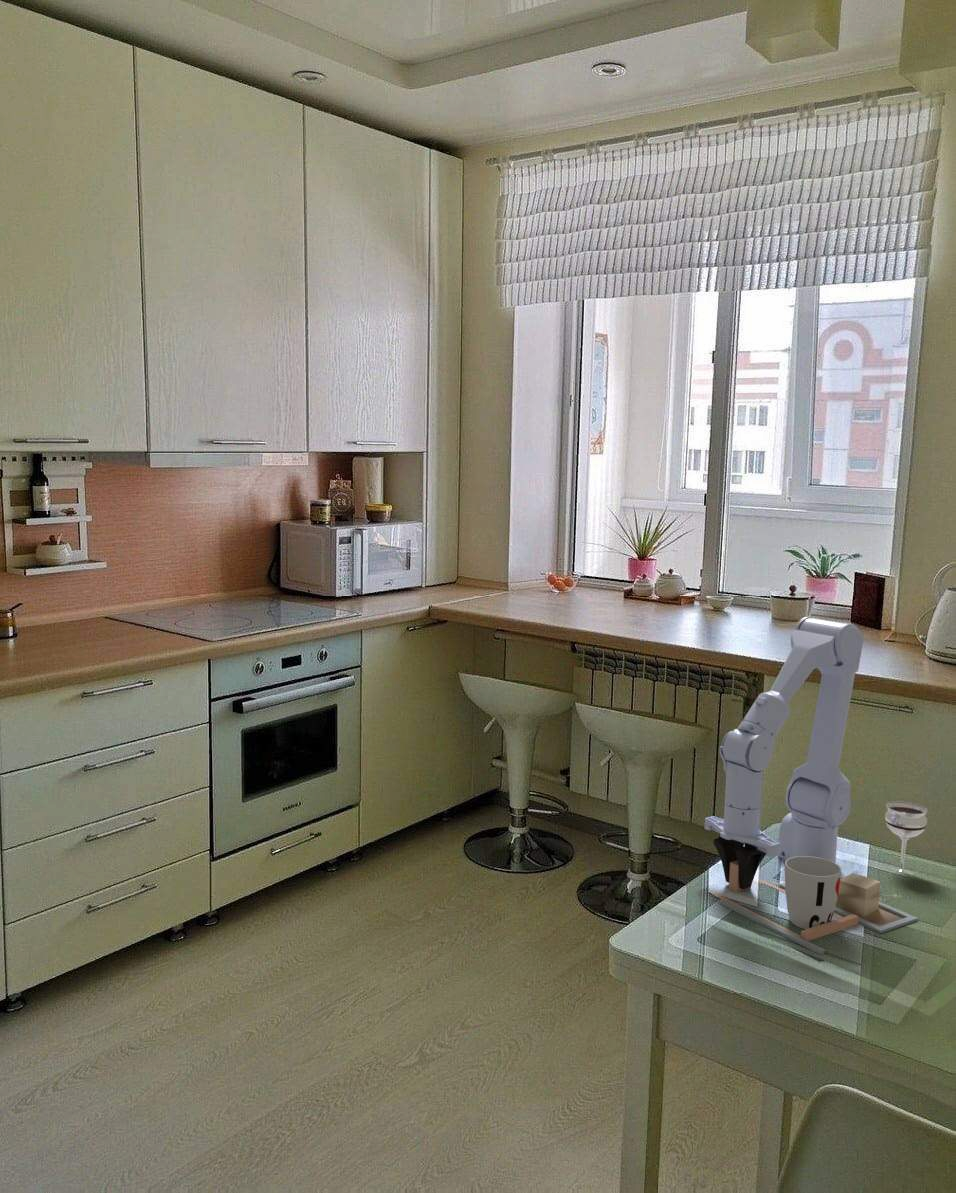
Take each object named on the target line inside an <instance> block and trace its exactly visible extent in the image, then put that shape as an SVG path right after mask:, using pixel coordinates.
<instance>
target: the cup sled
mask: <svg viewBox="0 0 956 1193" xmlns="http://www.w3.org/2000/svg"><path fill="white" fill-rule="evenodd" d="M759 882H760V883H761V884H763V885H766V886H768V887H770V888H773V889H775V890H777V891H779V892H781V893H783V894H785V895H786V892H785V889H783V888H781V887H779V886H776V885H773V883H770V882H767V881H766V880H763V879H761V880H759ZM751 888H752V886H751V887H750V888H746V889H740V887H739V867H738V860H737V861H733V862H730V875H729V883H728V889H729V890H732V891H733V892H736V893H741V892H743V891H747V890H750V889H751ZM711 895H713V896H714V897H716V898H719V899H720V900H727V901H729V902H731V903H733V904H735V905H737V906H739V907H741V908H743V909H745V910H747V911H749V912H751V913H753V914H755V915H757V916H759V917H761V918H763V919H765V920H767V921H769V922H771V923H773V924H775V925H777V926H778V927H780V928H782V929H784V930H786V931H788V932H790V933H792V934H794V935H796V936H798V937H800V938H802V939H804V940H806V941H808V942H810V941H812V940H816V939H819V938H822V937H824V936H828V935H831V934H833V933H837V932H840V931H842V930H843V931H844V930H846V929H849V928H852V927H855V926H858V925H859V923H858V918H859V917H858V916H856V915H854V914H852V915H849V916H846V917H844V916H842V915H839V914H837V913H835V912H834V914H833V917H835V918H836V919H832V920H831V921H830V922H827V923H824V924H821V925H818V926H815V927H812V928H809V929H803V930H800V934H798V933H796V932H795V931H792V930H790V929H788V928H786V927H784V926H782V925H780V924H778V923H776V922H774V921H772V920H771V919H768V918H766V917H764V916H762V915H760V914H758V913H756V912H754V911H752V910H750V909H748V908H746V907H744V906H742V905H740V904H738V903H737V902H734V901H732V900H731V899H728V898H726V897H724V896H722V895H720V894H719V893H716V892H714V893H712V894H711Z"/></svg>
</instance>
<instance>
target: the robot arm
mask: <svg viewBox="0 0 956 1193" xmlns="http://www.w3.org/2000/svg"><path fill="white" fill-rule="evenodd" d="M864 639H865V638H864V636H863V635H862V633H861V631H860V630H859V628H858V627H857V625H855V624H853V623H851V622H849V623H843V622H839V621H838V622H837V621H832V620H826V619H819V618H814V617H811V616H805V617H802V618H801V619H800V620H799V621H798V622H797V624H796V626H795V627H794V631H793V632H792V633H791V634H790V647H791V649H790V652H789V654H788V656H787V658H786V660H785V661H784V664H783V666H782V667H781V669H780V671H779V672H778V675H777V677H776V678H775V681H774V683H773V684H772V686H771V688H770V691H766V692H761V693H760V694H758V696H757V697H756V699H755V701H754V702H753V704H752V705H751V707H750V708H749V710H748V711H747V713H746V714H745V716H744V718H743V720H741V722H740V724H739V726H738V727H737V728H735V729H733V730H731V731H729V732H727V733H726V734H725V735H724V737H723V739H722V741H721V745H720V746H719V749H718V750H719V756H720V758H721V760H722V762H723V771H724V773H725V793H724V810H723V811H724V812H723V813H724V814H723V818H720V817H717V816H714V815H712V816H709V817H707V816H706V817H705V818H704V829H705V830H707V831H713V832H716V833H718V834H719V836H718V838H714V839H713V845H714V847H715V848H716V851H717V853H718V855H719V857H720V861H721V865H722V869H723V873H724V874H723V875H724V880H725V882H727V883H728V884H729V875H730V862H733V861H737V860H738V867H739V887H740V889H746V888H750V887H751V888H752V886H753V881H754V879H755V876H756V874H757V870H758V868H759V867H760V864H762V861H763V860H764V858H765V857H766V856H767V857H769V858H773V857H776V856H777V857H778V858H781V859H782V860H785V861H786V860H787V859H789V858H791V857H796V856H811V857H818V858H823V859H826V860H829V861H832V862H834V863H836V861H837V860H836V858H837V847H838V833H839V832H838V830H839V826H841V825H842V824H843V823H844V822H845V821H846V820H847V819H848V817H849V815H850V812H851V807H852V802H851V801H852V800H851V787H852V783H851V782H850V781H849V779H848V778H847V777H846V775H844V773H843V771H841V770H840V768H839V767H840V762H841V756H842V751H843V750H842V749H843V745H844V739H845V734H846V728H847V722H848V718H849V717H848V715H849V710H850V704H851V699H852V694H853V687H854V682H855V675H856V673H857V672H858V671H859V668H860V661H861V657H862V656H861V655H862V651H863V647H864V646H863V645H864ZM816 668H817V669H818V670H819V672H820V673H821V678H820V682H819V690H818V695H817V701H816V702H817V703H816V706H815V713H814V719H813V724H812V730H811V736H810V742H809V748H808V753H807V760H806V762H805V763H804V764H802V765H800V766H798V767H796V768H795V769H793V771H792V777H791V780H790V782H789V784H788V785H787V787H786V790H785V796H784V800H785V805H786V807H787V808H788V810H790V812H789V813H787V814H786V815H785V816H784V817H783V818H782V820H781V823H780V824H779V829H778V842H777V841H776V840H774V839H772V838H771V837H770V836H768V835H767V834H766V833H765V832H763V831H761V812H762V811H761V810H762V795H763V794H762V792H763V782H764V780H763V777H764V770H765V769H766V767H768V765H769V764H770V763H771V762H772V758H773V754H774V748H775V746H776V740H775V739H776V737H778V734H779V733H780V731H781V729H782V728H783V726H784V724H785V723H786V721H787V720H788V719H789V716H790V715H791V707H790V702H791V700H792V698H793V697H794V696H795V695H796V694H797V692H798V690H799V689H801V687H802V685H803V684H804V683H805V682H806V680H807V679H808V677H809V676H810V675H811V674H812V672H813V671H814V669H816ZM836 864H837V863H836ZM751 888H750V889H751Z"/></svg>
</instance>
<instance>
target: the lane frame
mask: <svg viewBox="0 0 956 1193" xmlns="http://www.w3.org/2000/svg"><path fill="white" fill-rule="evenodd" d="M778 887H779V888H781V889H783V890H785V882H781V883H779V884H778ZM719 904H721V905H722V906H723V907H724V906H725V907H726V908H727V909H730V910H732V911H734V912H736V913H737V914H740V915H742V916H743V917H746V918H748V919H749V920H752V921H753V922H755V923H757V924H759V925H762V926H763V927H764V928H767V929H769V930H771V931H773V932H775V933H777V934H778V935H780V936H783V937H785V938H787V939H789V940H791V941H793V942H795V943H796V944H799V945H801V947H802V946H803V947H805V948H807V949H809V950H811V951H813V952H814V953H816V954H818V955H823V954H825V953H826V949H824V948H823V947H820V946H818V945H817V944H815V943H812V942H810V941H806V940H804V939H802V938H800V937H798V936H796V935H794V934H792V933H790V932H788V931H786V930H784V929H782V928H780V927H778V926H777V925H775V924H773V923H771V922H769V921H767V920H765V919H763V918H761V917H759V916H757V915H755V914H753V913H751V912H749V911H747V910H745V909H743V908H741V907H739V906H737V905H735V904H733V903H731V902H729V901H727V900H722V899H720V901H719ZM878 908H880V909H882V910H885V911H887V912H889V913H891V914H894V915H896V916H898V917H901V918H903V919H900V920H897V921H894V922H891V923H888V924H885V925H883V926H880V927H879V926H877V925H875V924H873V923H871V922H868V921H866V920H864V919H862V918H860V917H859V918H858V925H859V924H860V925H862V926H864V927H866V928H868V929H870V930H873V931H874V932H877V933H879V934H883V933H886V932H889V931H892V930H894V929H898V928H901V927H903V926H906V925H909V924H912V923H915V922H917V921H918V919H919V918H918V917H916V916H914V915H911V914H909V913H907V912H905V911H903V910H900V909H898V908H895V907H893V906H892V905H888V904H886V903H884V902H882V901H880V900H879V906H878ZM834 913H835V914H837V915H839V916H842V917H846V916H849V915H852V914H851V913H849V912H846V911H844V910H842V909H840V908H838V907H835V910H834ZM788 946H789V947H790V949H791V948H792V949H794V950H795V951H797V952H799V953H801V954H803V955H805V956H807V957H809V958H810V959H813V960H815V961H817V962H818V963H821V962H824V961H825V960H824V959H823V958H822V959H821V958H819V957H817V956H814V955H812V954H810V953H807V952H804V951H803V950H800V949H797V948H795V947H791V946H790V945H788Z"/></svg>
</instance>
